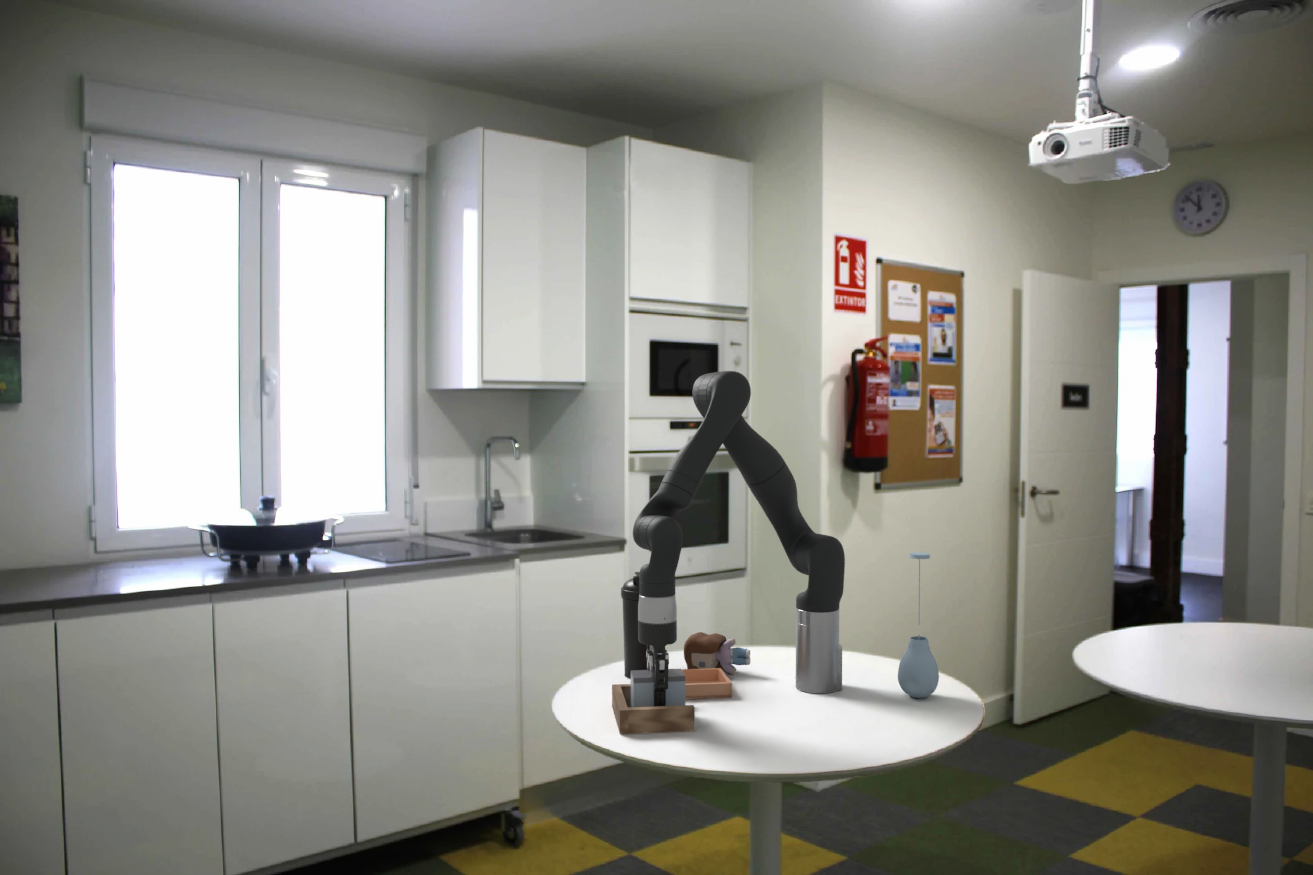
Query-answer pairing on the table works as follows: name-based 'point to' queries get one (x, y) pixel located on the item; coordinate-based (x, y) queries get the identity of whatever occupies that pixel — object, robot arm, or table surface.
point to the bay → (649, 715)
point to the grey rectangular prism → (645, 693)
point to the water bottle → (632, 628)
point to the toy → (714, 652)
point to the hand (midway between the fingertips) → (657, 703)
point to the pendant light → (918, 660)
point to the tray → (706, 683)
